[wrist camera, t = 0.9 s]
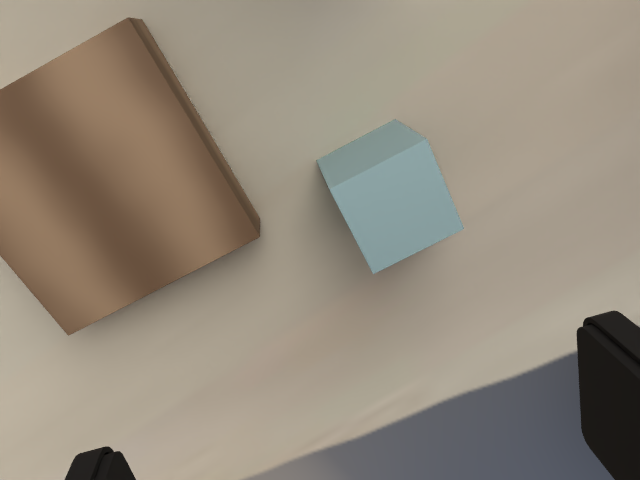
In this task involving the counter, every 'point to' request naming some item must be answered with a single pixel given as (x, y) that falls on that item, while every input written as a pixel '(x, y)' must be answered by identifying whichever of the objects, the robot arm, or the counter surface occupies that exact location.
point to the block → (390, 194)
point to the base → (111, 179)
